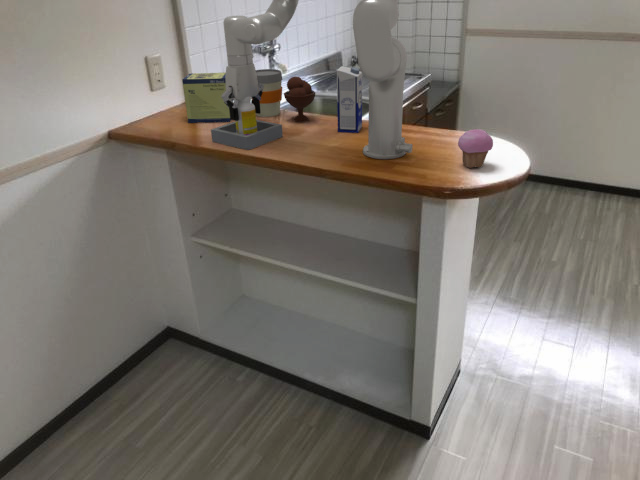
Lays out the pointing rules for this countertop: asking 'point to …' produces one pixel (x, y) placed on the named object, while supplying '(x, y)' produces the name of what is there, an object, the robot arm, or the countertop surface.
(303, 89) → the ice cream bowl
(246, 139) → the gray rectangular tray
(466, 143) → the cupcake
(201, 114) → the protein box
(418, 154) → the countertop surface
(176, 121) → the countertop surface
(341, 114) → the milk carton
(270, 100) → the reusable coffee cup
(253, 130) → the supplement bottle
